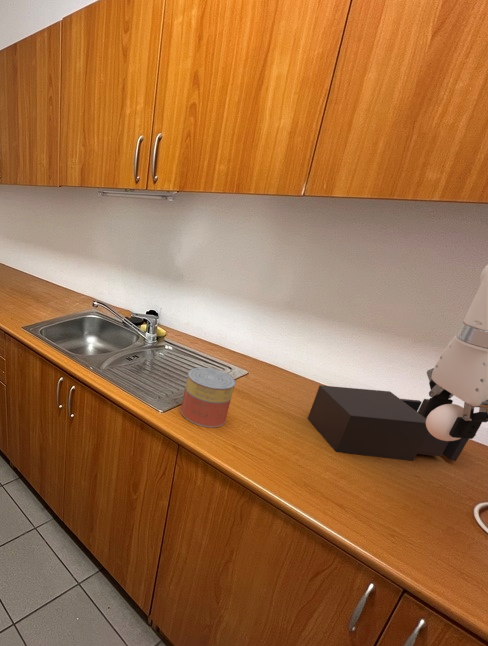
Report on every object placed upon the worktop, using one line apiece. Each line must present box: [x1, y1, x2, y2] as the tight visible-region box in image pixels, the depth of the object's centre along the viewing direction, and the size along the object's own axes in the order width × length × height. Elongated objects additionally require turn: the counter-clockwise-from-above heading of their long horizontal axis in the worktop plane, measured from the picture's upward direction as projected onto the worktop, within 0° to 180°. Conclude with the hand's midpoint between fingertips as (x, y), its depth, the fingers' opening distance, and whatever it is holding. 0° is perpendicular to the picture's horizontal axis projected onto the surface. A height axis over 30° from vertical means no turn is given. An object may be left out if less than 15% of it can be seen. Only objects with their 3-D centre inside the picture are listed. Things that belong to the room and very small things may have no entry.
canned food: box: [179, 366, 236, 428], centre depth 107 cm, size 11×11×12 cm
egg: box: [426, 403, 464, 441], centre depth 72 cm, size 5×5×7 cm
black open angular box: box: [400, 398, 477, 462], centre depth 95 cm, size 18×12×9 cm
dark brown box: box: [307, 384, 429, 462], centre depth 97 cm, size 16×14×11 cm
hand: (446, 425), depth 73 cm, fingers closed on egg, 5 cm apart
